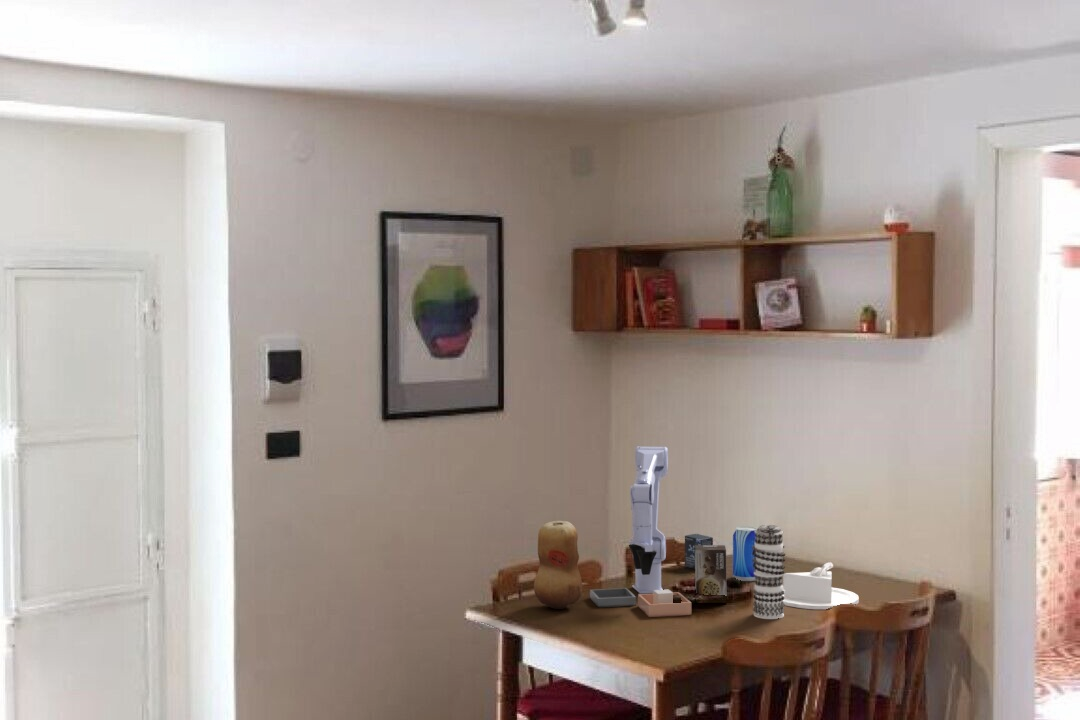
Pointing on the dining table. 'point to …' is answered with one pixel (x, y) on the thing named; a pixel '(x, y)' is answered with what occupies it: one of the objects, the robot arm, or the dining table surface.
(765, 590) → the decorative candle
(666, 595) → the white cube
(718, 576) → the coffee box
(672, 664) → the dining table surface
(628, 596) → the tray
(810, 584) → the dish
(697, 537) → the box
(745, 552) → the beer can
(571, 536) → the butternut squash
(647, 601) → the bin
